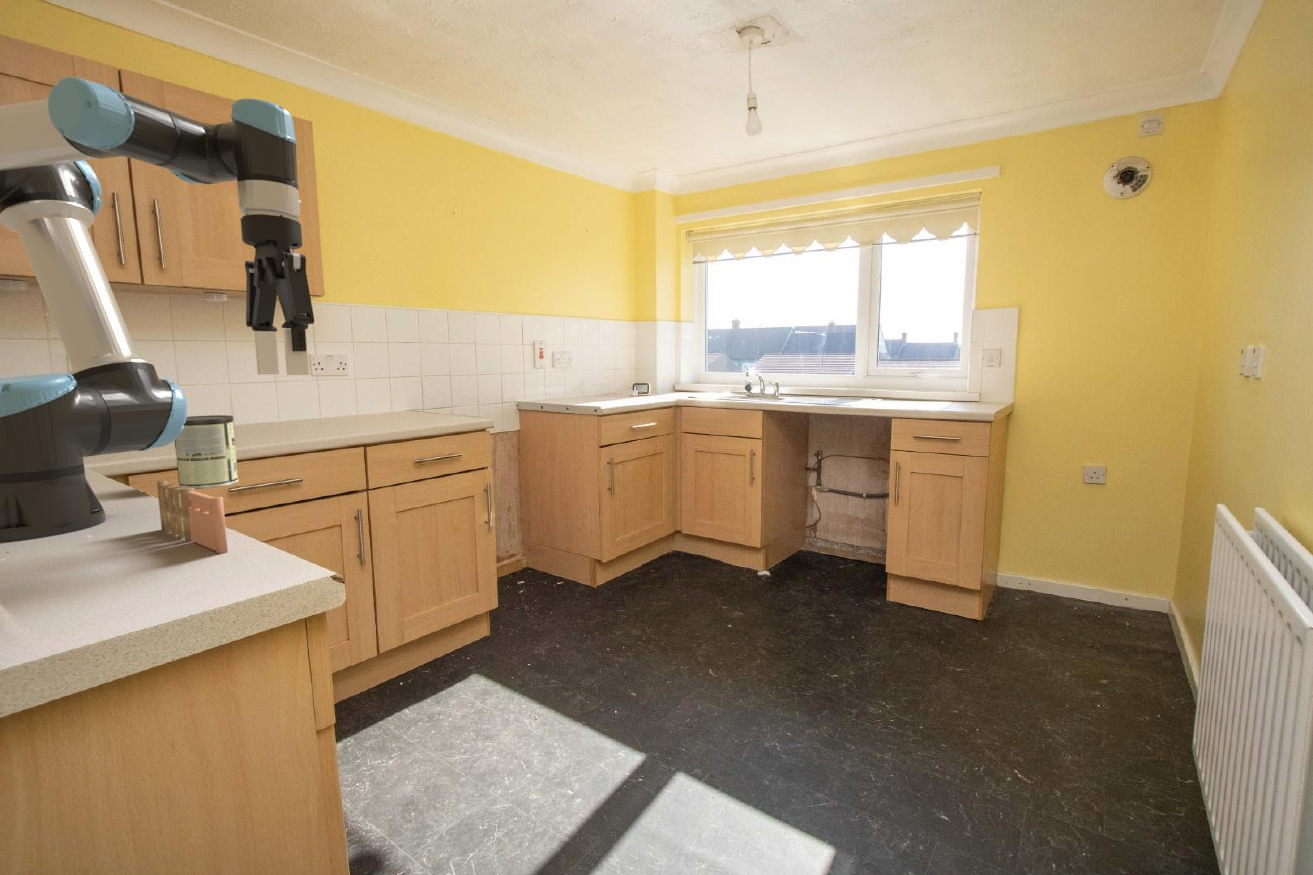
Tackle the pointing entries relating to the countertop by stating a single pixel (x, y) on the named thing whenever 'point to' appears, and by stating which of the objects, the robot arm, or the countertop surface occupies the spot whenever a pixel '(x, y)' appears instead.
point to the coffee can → (206, 452)
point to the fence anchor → (174, 509)
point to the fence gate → (207, 521)
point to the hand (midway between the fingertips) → (282, 374)
